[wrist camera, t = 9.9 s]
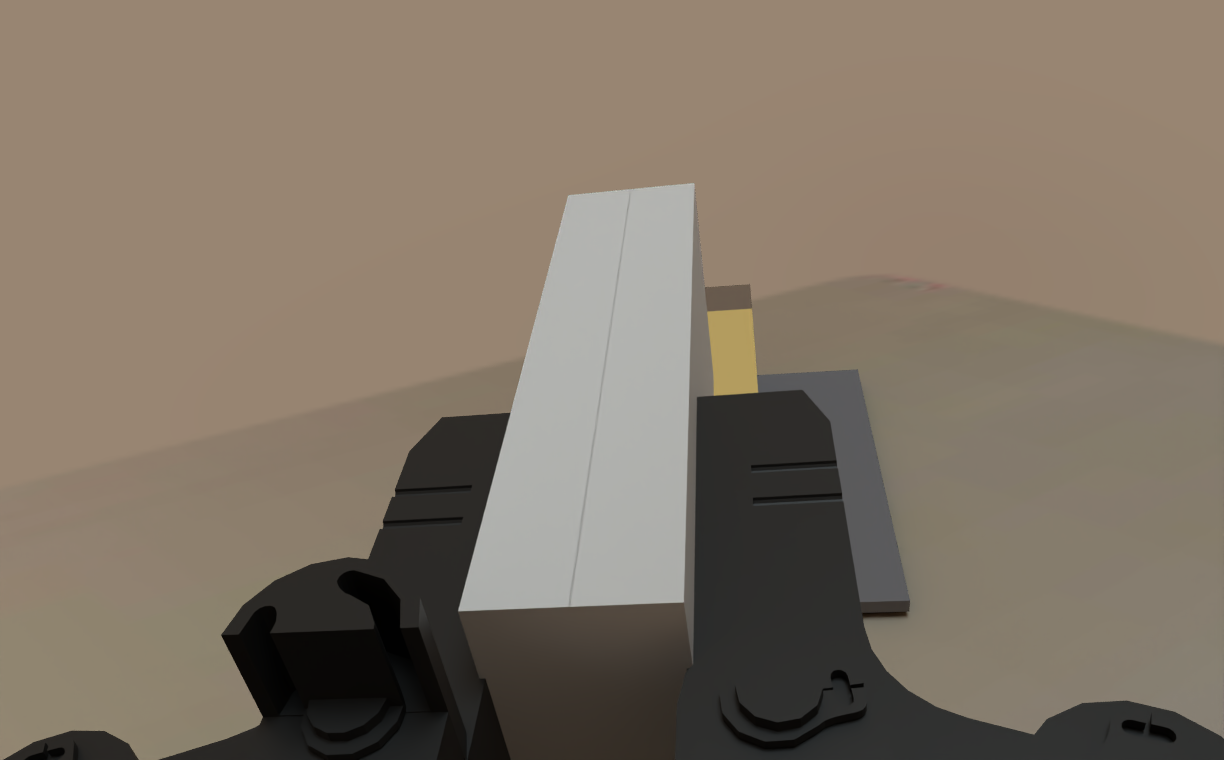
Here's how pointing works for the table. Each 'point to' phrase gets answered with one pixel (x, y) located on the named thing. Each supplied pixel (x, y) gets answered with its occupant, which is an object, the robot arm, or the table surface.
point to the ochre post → (731, 339)
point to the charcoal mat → (856, 484)
